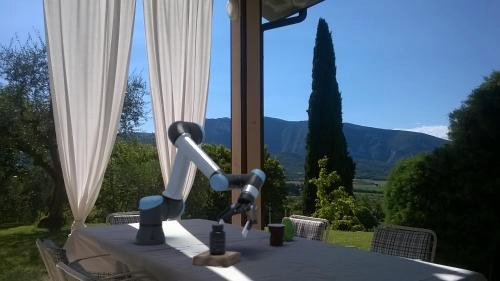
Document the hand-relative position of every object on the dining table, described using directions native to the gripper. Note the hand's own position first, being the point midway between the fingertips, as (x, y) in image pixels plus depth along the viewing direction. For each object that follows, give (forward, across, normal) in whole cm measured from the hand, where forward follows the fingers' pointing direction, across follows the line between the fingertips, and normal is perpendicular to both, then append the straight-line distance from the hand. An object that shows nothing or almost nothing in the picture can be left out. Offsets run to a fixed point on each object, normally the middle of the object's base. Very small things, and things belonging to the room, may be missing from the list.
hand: (229, 234), depth 188 cm
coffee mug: (-20, -3, -35) cm, 40 cm away
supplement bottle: (+12, 0, +2) cm, 12 cm away
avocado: (-30, -3, -45) cm, 54 cm away
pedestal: (+14, 0, 0) cm, 14 cm away
